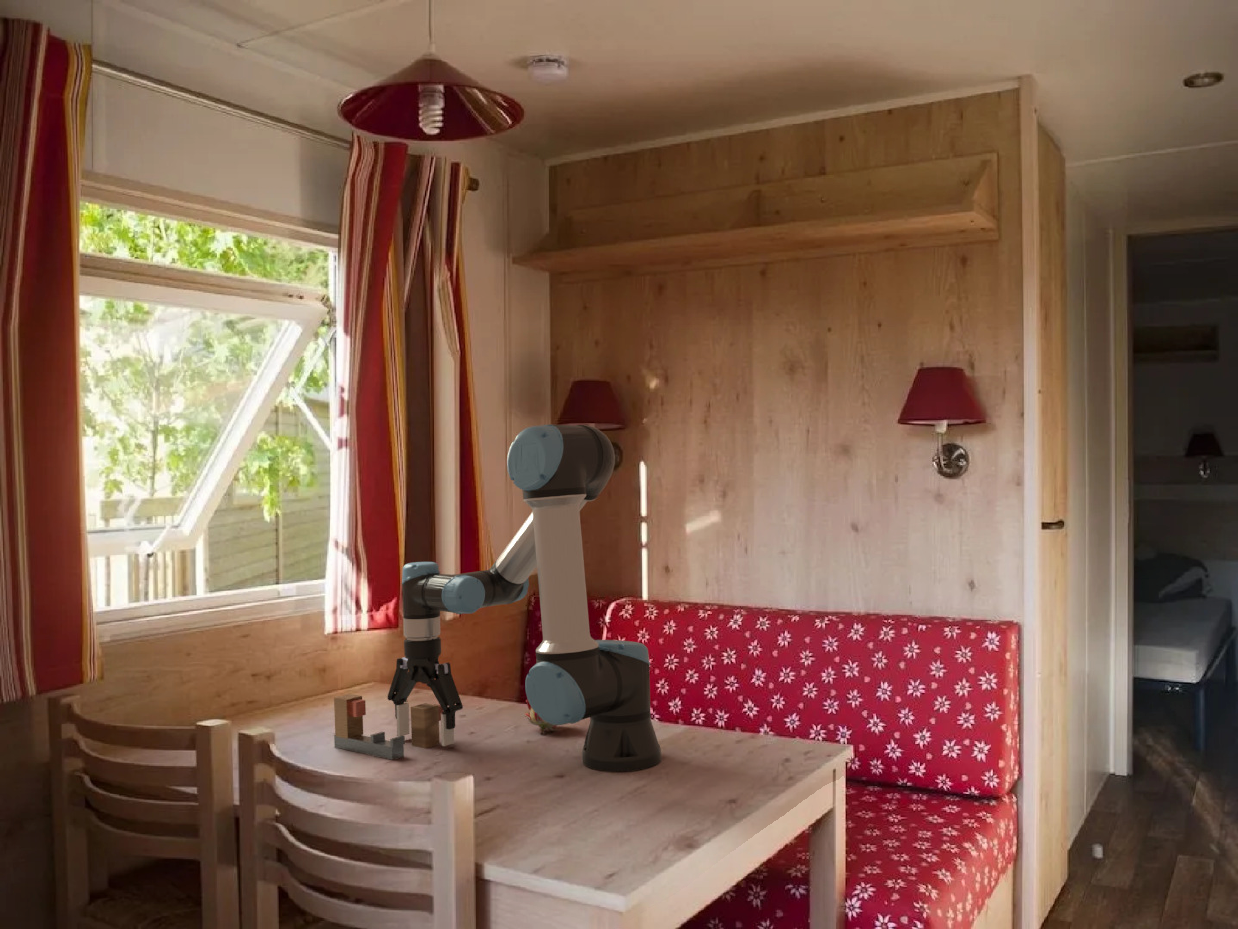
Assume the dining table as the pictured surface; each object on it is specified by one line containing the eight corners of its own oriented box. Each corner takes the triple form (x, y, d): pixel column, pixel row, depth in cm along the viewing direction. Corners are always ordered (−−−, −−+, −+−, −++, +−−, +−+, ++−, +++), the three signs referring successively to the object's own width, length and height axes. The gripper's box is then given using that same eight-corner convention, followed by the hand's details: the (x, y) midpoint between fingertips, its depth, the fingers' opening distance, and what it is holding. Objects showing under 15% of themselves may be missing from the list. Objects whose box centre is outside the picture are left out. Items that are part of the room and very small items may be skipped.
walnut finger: (425, 748, 226) (423, 709, 226) (411, 745, 228) (410, 707, 228) (446, 741, 231) (445, 703, 231) (433, 739, 233) (432, 701, 233)
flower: (562, 730, 230) (569, 694, 235) (519, 722, 230) (527, 687, 235) (561, 746, 238) (567, 711, 243) (519, 738, 238) (526, 704, 243)
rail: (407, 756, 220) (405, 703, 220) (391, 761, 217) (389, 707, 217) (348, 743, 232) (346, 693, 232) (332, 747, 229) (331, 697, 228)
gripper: (478, 639, 224) (481, 744, 224) (396, 629, 239) (399, 727, 239) (450, 645, 218) (453, 753, 218) (368, 635, 233) (371, 735, 234)
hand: (425, 740), depth 229 cm, fingers open, 13 cm apart
